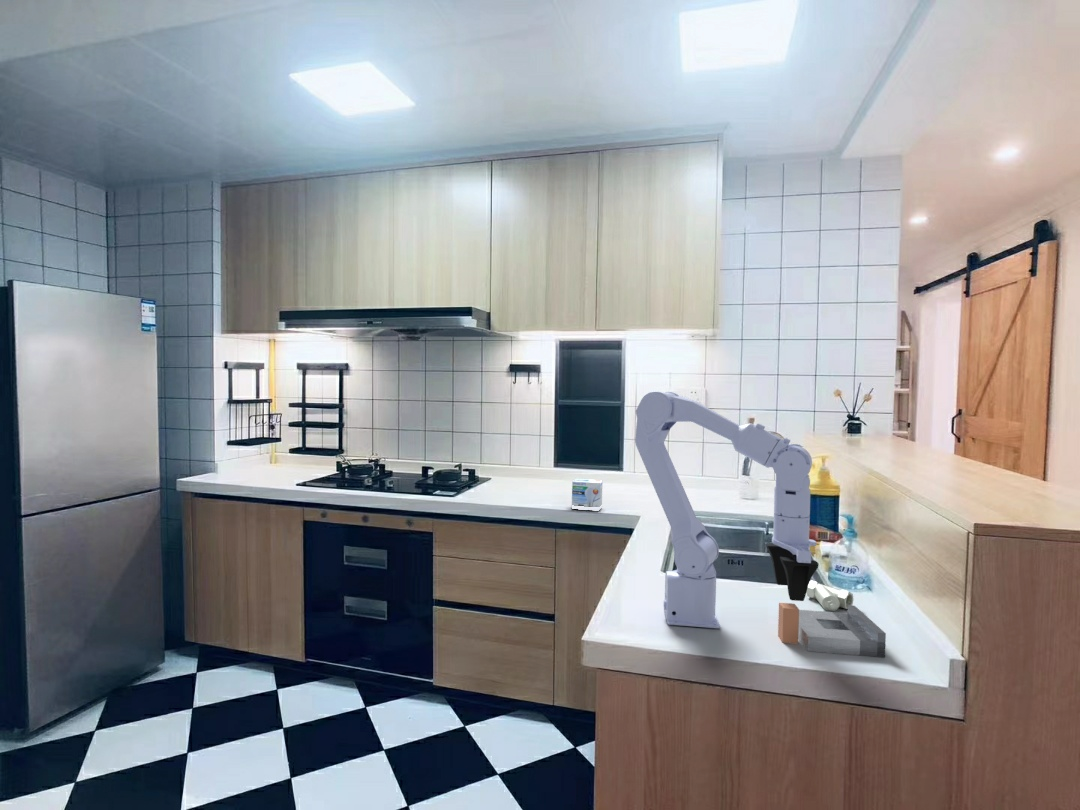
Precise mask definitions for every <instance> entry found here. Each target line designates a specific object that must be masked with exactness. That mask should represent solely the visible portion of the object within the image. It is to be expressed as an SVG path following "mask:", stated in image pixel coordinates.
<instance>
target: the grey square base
mask: <svg viewBox="0 0 1080 810" xmlns="http://www.w3.org/2000/svg"><path fill="white" fill-rule="evenodd" d="M886 634H887V633H886V632H885V631H884V630H883V629H881V627H879V626H878V625H877V624H876V623H875V622H874V621H872V620H871V618H869V617H868V616H867V615H866V614H865V613H863V611H861V610H860V609H859V608H858V607H856V605H848V610H847V612H838V611H837V612H836V611H821V610H811V609H809V610H807V609H799V633H798V641H800V643H801V644H802V645H803V647H804V648H805V650H806V651H807V652H814V653H815V652H816V653H827V654H838V655H840V654H841V655H850V656H852V655H853V656H861V655H862V657H863V656H865V657H874V658H875V657H876V658H886V638H887V635H886Z"/></svg>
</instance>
